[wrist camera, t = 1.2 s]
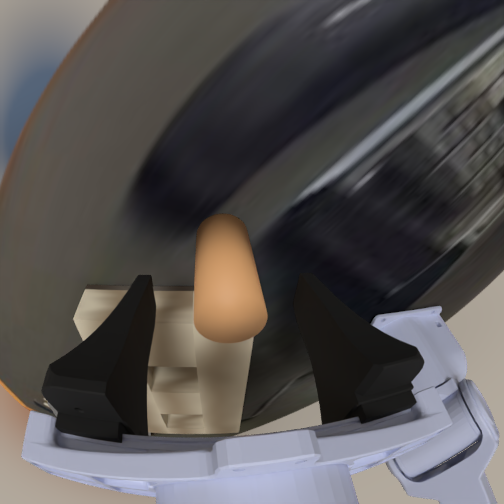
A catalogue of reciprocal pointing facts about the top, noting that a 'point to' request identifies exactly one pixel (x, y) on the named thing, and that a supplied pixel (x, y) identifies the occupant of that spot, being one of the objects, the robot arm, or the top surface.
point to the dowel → (226, 282)
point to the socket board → (180, 363)
